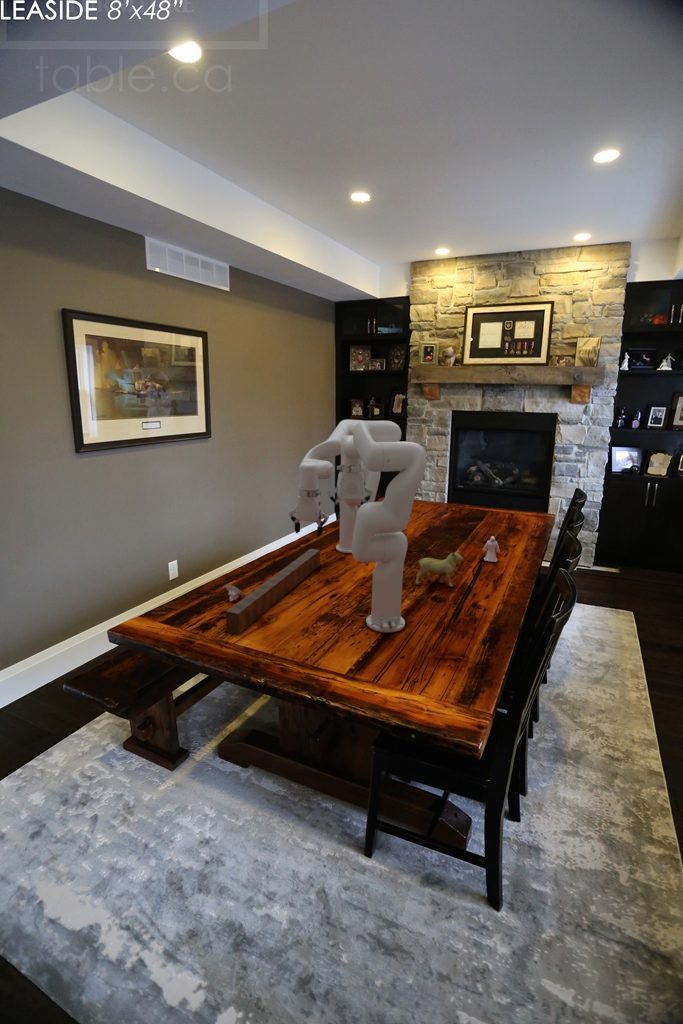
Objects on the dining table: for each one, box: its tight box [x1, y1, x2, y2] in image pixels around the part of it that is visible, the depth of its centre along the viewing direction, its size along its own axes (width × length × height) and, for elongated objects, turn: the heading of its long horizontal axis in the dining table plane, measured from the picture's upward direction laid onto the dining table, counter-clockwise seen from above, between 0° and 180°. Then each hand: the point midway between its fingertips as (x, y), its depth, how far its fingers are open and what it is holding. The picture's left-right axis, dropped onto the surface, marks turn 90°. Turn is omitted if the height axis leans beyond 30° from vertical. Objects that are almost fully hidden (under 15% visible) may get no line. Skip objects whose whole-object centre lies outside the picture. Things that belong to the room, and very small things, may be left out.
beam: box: [225, 548, 321, 635], centre depth 185 cm, size 67×4×7 cm, turn 160°
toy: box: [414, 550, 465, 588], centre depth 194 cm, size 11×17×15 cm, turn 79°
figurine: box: [482, 535, 501, 563], centre depth 223 cm, size 8×8×12 cm
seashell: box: [224, 584, 247, 602], centre depth 178 cm, size 8×5×8 cm
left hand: (308, 534), depth 205 cm, fingers open, 9 cm apart
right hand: (349, 513), depth 191 cm, fingers open, 9 cm apart
